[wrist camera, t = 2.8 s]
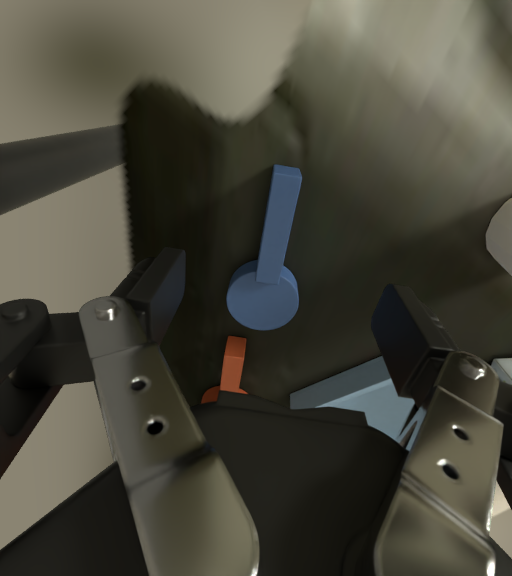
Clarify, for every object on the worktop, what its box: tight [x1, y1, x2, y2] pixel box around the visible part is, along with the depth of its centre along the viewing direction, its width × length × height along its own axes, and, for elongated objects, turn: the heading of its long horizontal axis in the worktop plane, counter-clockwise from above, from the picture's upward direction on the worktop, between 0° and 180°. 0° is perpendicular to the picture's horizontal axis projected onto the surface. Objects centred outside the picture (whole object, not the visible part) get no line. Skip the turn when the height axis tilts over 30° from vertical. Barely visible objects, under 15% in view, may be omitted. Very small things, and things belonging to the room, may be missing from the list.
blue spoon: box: [226, 165, 302, 330], centre depth 20 cm, size 12×5×2 cm, turn 172°
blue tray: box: [290, 356, 415, 440], centre depth 29 cm, size 13×12×2 cm
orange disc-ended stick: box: [201, 336, 248, 403], centre depth 28 cm, size 12×5×2 cm, turn 172°
